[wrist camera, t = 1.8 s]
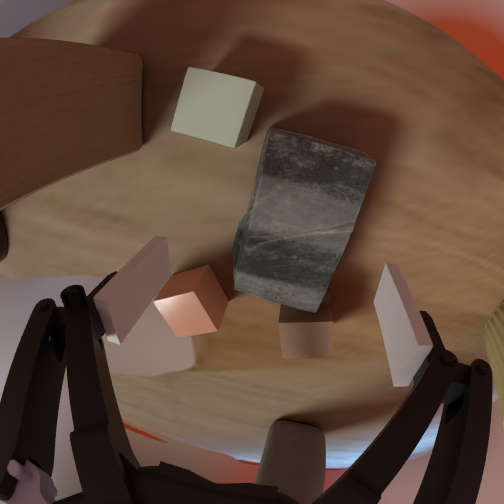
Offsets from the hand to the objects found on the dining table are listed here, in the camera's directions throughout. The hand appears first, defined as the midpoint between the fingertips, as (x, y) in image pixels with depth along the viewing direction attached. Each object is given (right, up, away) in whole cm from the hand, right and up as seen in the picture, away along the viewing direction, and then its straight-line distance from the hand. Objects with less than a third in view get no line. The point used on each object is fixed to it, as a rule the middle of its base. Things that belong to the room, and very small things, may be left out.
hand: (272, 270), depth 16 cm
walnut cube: (+5, -5, +14) cm, 16 cm away
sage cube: (-3, +13, +6) cm, 15 cm away
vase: (+7, -31, +27) cm, 42 cm away
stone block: (+3, +5, +9) cm, 11 cm away
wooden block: (-16, +16, +7) cm, 23 cm away
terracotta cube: (-7, -3, +15) cm, 17 cm away
